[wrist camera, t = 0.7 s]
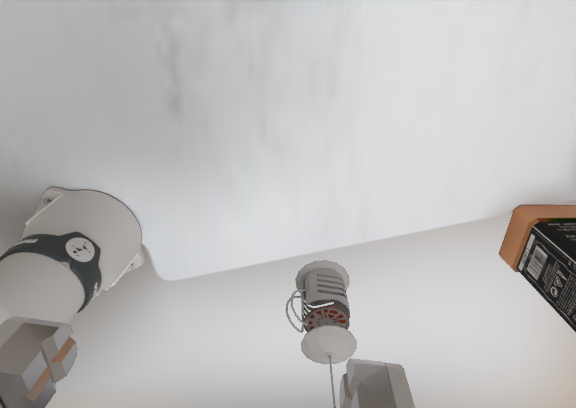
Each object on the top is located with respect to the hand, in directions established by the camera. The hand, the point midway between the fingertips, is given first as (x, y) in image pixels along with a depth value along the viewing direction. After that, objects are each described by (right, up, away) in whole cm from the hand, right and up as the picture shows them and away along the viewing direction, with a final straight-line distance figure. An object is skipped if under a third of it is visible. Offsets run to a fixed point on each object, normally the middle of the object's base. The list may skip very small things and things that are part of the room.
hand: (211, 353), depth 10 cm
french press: (+8, -9, +51) cm, 52 cm away
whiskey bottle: (+43, 0, +45) cm, 62 cm away
